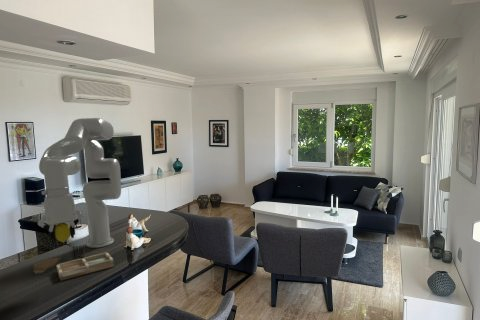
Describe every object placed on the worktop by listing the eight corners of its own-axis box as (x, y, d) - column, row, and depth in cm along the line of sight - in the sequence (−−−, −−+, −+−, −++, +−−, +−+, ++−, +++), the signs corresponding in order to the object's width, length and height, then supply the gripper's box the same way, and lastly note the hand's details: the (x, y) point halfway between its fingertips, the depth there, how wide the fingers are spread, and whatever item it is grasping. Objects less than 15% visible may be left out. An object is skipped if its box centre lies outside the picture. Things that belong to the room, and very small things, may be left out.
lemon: (56, 246, 124) (53, 225, 123) (54, 242, 128) (52, 221, 127) (72, 242, 127) (70, 222, 126) (70, 238, 132) (68, 218, 131)
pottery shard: (49, 276, 138) (63, 258, 153) (48, 270, 138) (62, 253, 152) (27, 278, 137) (43, 260, 152) (26, 272, 137) (42, 255, 151)
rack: (57, 271, 138) (56, 264, 138) (107, 258, 150) (107, 252, 149) (60, 280, 130) (59, 273, 130) (114, 266, 141) (113, 259, 141)
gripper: (31, 197, 117) (37, 247, 120) (84, 190, 127) (89, 236, 129) (30, 194, 124) (36, 241, 126) (81, 187, 133) (85, 231, 135)
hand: (63, 238), depth 128 cm, fingers closed on lemon, 5 cm apart
